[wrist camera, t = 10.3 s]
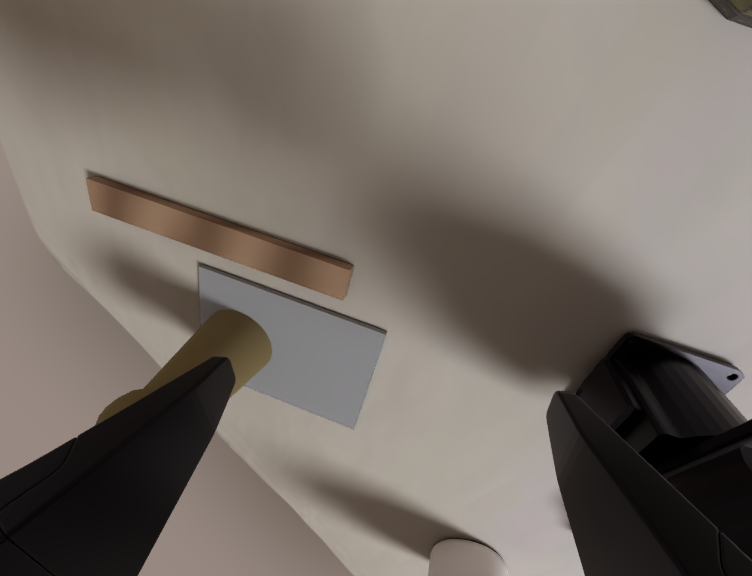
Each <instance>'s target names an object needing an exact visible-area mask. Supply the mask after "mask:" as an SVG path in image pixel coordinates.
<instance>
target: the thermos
mask: <svg viewBox="0 0 752 576" xmlns="http://www.w3.org/2000/svg"><path fill="white" fill-rule="evenodd" d="M709 1H710V2H711V3H712V4H713V5H714V6H715V7H716V8H717V9H718V10H719V11H720V12H721V13H722V14H723V15H724V16H725V17H726V18H727V19H728V20H730V21H733V22H736V23H739V24H742V25H745V26H748V27H750V28H752V0H709Z"/></svg>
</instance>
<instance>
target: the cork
mask: <svg viewBox="0 0 752 576" xmlns="http://www.w3.org/2000/svg"><path fill="white" fill-rule="evenodd" d="M271 355H272V347H271V342H270V340H269V338H268V336H267V333H266V332H265V331H264V330H263V328H262V327H261V326H260V325H259V324H258V323H257V322H256V321H254V320H253V319H252V318H250V317H249V316H247V315H245V314H243V313H241V312H238V311H233V310H221V311H217V312H216V313H214V314H213V315H211V316H210V317H209V319H208V320H207V321H206V322H205V323H204V324H203V325H202V326H201V327H200V328H199V329H198V330H197V331H196V333H195V334H194V335H193V336H192V337H191V338H190V339H189V340H188V341H187V342H186V343H185V344H184V345H183V347H182V348H181V349H180V350H179V351H178V352H177V353H176V354H175V355H174V356H173V357H172V358H171V359H170V360H169V362H168V363H167V364H166V365H165V366H164V367H163V368H162V369H161V370H160V371H159V372H158V373H157V374H156V376H155V377H154V378H153V379H152V380H151V381H150V382H149V383H148V384H147V385H146V386H145V387H144V389H139V390H133V391H131V392H129V393H127V394H125V395H123V396H121V397H119V398H118V399H116V400H115V401H113V402H112V403H111V404H110V405H108V406H107V407H106V408H105V409H104V411H103V412H102V413H101V414H100V415H99V417H98V420H97V422H96V425H97V424H99V423H100V422H102V421H104V420H105V419H107V418H109V417H111V416H112V415H114V414H116V413H117V412H119V411H121V410H122V409H124V408H126V407H128V406H129V405H131V404H133V403H134V402H136V401H138V400H140V399H141V398H143V397H145V396H146V395H148V394H150V393H151V392H153V391H155V390H157V389H158V388H160V387H162V386H163V385H165V384H167V383H168V382H170V381H172V380H174V379H175V378H177V377H179V376H180V375H182V374H184V373H186V372H187V371H189V370H191V369H192V368H194V367H196V366H197V365H199V364H201V363H203V362H204V361H206V360H208V359H209V358H211V357H213V356H224V357H228V358H229V359H230V361H231V364H232V367H233V370H234V373H235V377H236V382H235V385H234V388H233V390H232V393H231V395H230V397H231V396H232V395H234V394H235V393H236V392H237V391H238V390H239V389H240V388H241V387H242V386H243V385H245V384H246V383H247V382H248V381H249V380H250V379H251V378H252V377H253V376H255V375H256V374H257V373H258V372H259V371H260V370H261V369H262V368H263V367H265V366H266V364H267V363H268V362H269V361H270V359H271ZM230 397H229V398H230Z"/></svg>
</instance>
